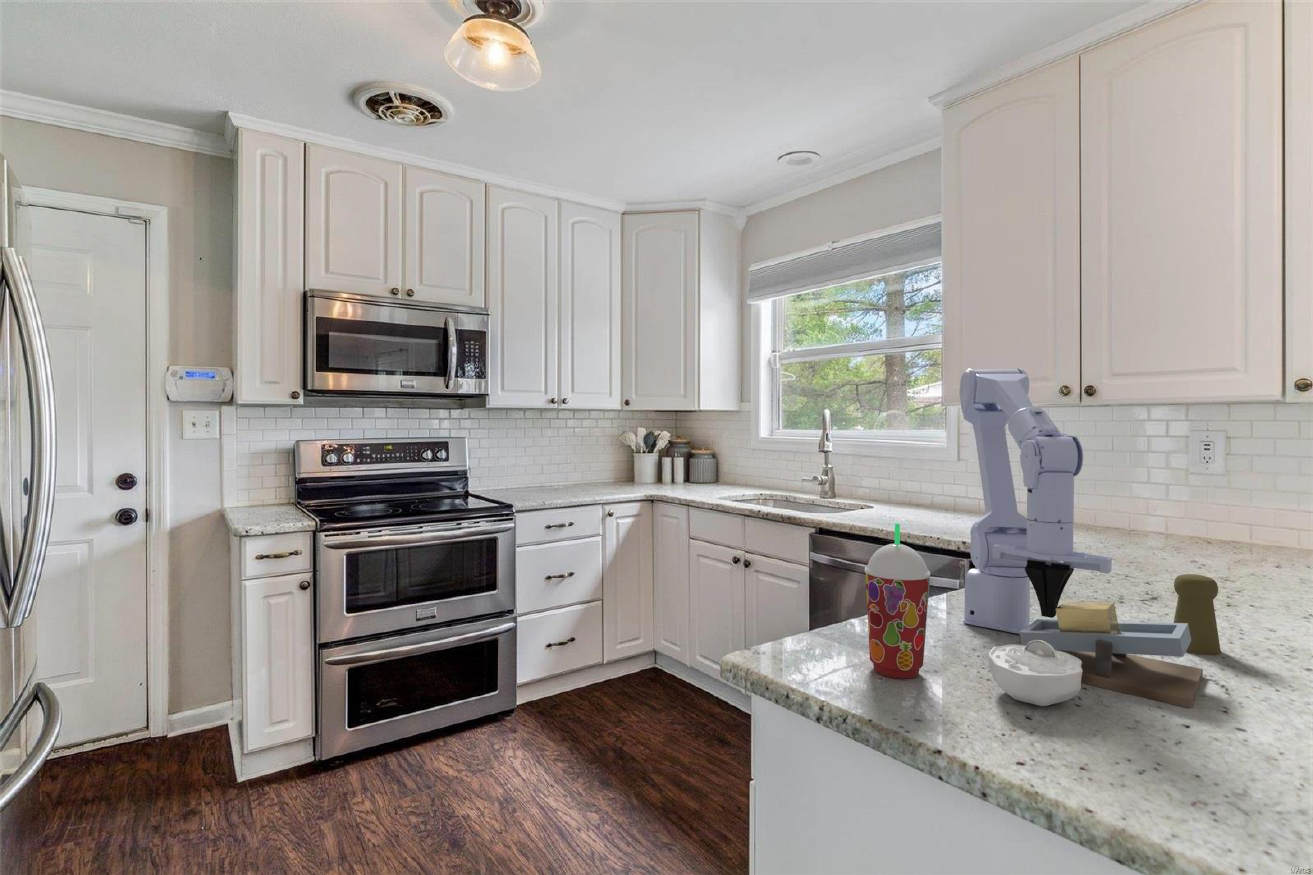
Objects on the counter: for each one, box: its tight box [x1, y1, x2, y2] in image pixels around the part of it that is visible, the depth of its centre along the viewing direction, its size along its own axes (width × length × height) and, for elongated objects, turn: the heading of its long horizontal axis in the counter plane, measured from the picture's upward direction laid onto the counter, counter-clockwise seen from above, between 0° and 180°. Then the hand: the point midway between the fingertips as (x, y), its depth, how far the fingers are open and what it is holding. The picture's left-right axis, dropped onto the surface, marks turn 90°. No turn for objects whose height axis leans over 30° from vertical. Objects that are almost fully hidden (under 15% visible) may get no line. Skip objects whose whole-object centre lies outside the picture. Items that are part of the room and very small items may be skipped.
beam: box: [1019, 618, 1191, 658], centre depth 90 cm, size 18×9×2 cm, turn 46°
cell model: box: [988, 640, 1083, 707], centre depth 80 cm, size 10×12×7 cm
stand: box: [1057, 640, 1204, 709], centre depth 90 cm, size 20×14×5 cm
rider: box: [1056, 601, 1120, 634], centre depth 91 cm, size 6×5×4 cm
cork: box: [1173, 573, 1222, 656], centre depth 99 cm, size 6×6×11 cm
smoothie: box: [864, 523, 931, 680], centre depth 89 cm, size 8×8×20 cm
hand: (1048, 615), depth 94 cm, fingers closed
